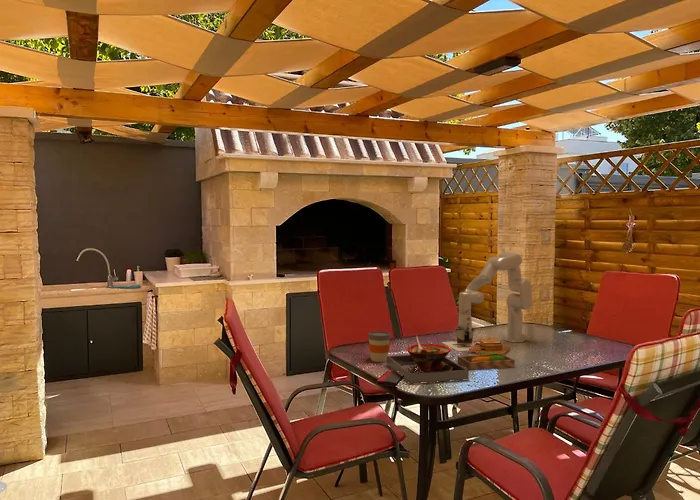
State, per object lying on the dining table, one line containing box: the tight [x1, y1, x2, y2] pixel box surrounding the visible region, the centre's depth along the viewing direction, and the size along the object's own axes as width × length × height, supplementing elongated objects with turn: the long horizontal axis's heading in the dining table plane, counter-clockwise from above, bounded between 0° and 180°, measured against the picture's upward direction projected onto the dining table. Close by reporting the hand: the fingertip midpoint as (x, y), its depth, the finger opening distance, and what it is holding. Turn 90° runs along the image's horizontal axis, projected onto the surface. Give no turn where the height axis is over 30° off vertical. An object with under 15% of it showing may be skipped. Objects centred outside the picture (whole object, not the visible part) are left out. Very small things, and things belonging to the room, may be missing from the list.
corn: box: [471, 351, 505, 362], centre depth 294 cm, size 7×8×20 cm
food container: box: [454, 326, 476, 344], centre depth 341 cm, size 12×6×10 cm, turn 88°
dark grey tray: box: [386, 354, 470, 384], centre depth 280 cm, size 31×35×5 cm
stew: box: [406, 334, 453, 373], centre depth 285 cm, size 28×24×16 cm
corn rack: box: [457, 353, 516, 371], centre depth 296 cm, size 27×14×4 cm, turn 105°
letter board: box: [441, 340, 476, 353], centre depth 341 cm, size 20×24×1 cm
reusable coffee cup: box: [367, 330, 391, 363], centre depth 305 cm, size 12×13×15 cm
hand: (464, 339), depth 341 cm, fingers open, 5 cm apart
